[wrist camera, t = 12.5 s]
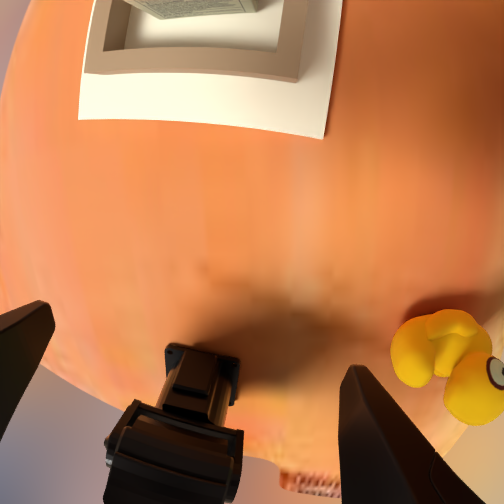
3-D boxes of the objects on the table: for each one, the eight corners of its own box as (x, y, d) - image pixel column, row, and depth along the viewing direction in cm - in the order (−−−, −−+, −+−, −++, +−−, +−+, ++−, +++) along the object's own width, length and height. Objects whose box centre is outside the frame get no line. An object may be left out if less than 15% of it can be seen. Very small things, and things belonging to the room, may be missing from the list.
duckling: (498, 304, 21) (553, 381, 12) (472, 351, 23) (512, 430, 14) (394, 290, 21) (441, 394, 12) (371, 345, 24) (396, 449, 15)
